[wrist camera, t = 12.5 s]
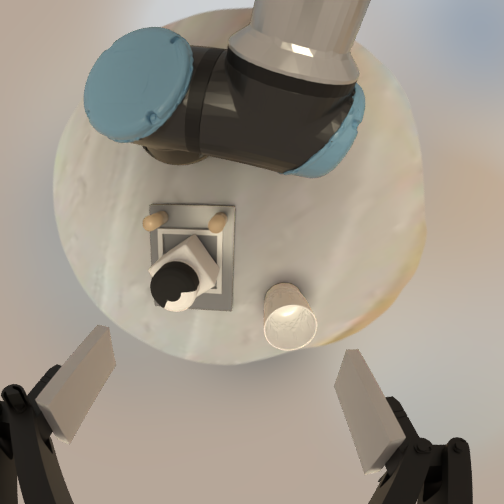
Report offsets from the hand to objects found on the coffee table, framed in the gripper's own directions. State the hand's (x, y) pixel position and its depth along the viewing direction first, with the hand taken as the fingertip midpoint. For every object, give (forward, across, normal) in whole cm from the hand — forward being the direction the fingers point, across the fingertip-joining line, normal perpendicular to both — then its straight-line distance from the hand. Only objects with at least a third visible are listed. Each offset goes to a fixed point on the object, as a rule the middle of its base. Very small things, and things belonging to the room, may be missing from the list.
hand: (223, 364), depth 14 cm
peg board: (+33, -8, -5) cm, 34 cm away
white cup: (+33, +8, -11) cm, 36 cm away
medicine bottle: (+31, -8, -5) cm, 32 cm away
